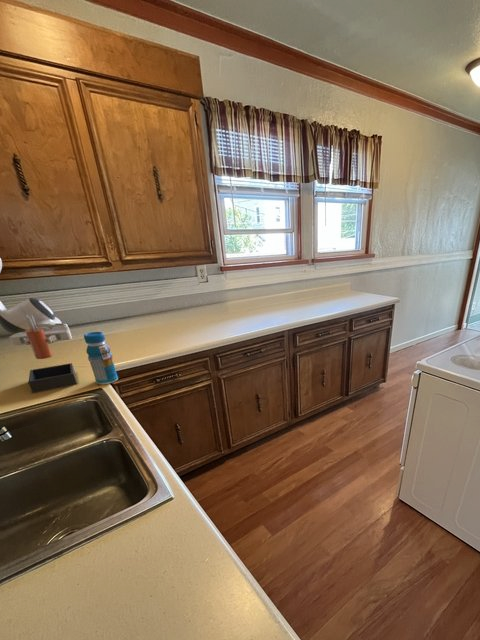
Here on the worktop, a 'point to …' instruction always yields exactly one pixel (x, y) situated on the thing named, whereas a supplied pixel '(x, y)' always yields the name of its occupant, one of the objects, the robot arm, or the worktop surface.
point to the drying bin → (52, 377)
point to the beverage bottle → (100, 358)
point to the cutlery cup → (38, 340)
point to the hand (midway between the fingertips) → (37, 341)
